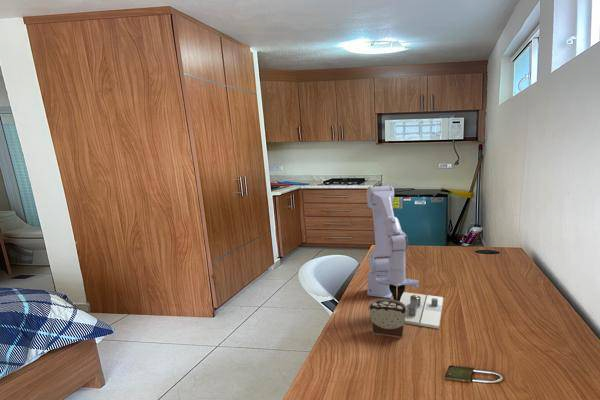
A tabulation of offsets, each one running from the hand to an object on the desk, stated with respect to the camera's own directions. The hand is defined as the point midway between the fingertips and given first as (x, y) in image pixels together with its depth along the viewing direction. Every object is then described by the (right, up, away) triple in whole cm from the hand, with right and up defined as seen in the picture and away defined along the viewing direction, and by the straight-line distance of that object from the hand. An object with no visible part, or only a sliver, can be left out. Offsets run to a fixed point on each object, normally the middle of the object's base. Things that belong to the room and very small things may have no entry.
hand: (396, 304), depth 129 cm
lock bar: (+6, -2, +1) cm, 7 cm away
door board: (+9, -3, +3) cm, 10 cm away
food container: (-6, -6, -11) cm, 13 cm away
